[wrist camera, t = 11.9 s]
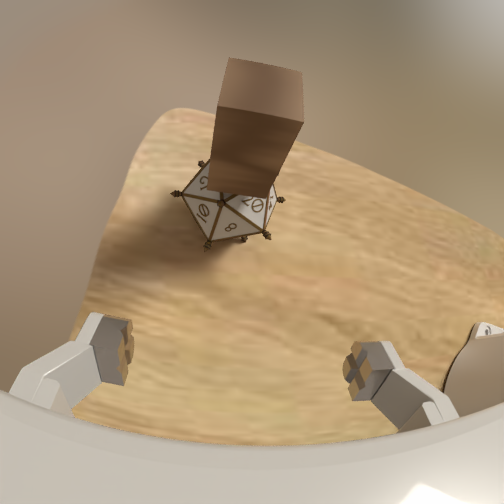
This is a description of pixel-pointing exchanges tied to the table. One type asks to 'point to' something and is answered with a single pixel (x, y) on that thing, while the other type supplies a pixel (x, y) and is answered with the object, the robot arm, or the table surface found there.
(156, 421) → the table surface
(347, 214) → the table surface
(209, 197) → the game die
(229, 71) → the walnut block
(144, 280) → the table surface
